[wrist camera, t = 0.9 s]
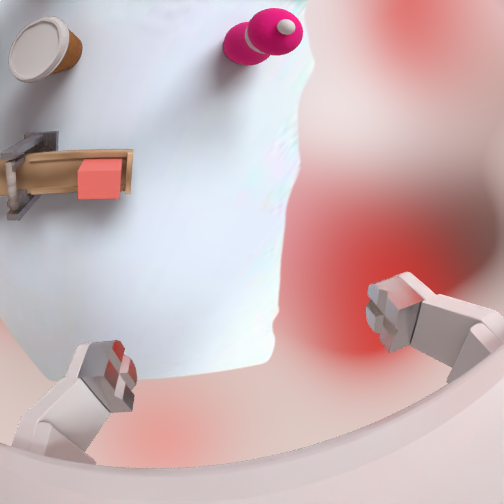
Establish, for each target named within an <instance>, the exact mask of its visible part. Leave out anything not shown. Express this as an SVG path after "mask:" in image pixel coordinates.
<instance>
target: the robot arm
mask: <svg viewBox="0 0 504 504" xmlns="http://www.w3.org/2000/svg"><path fill="white" fill-rule="evenodd" d="M368 296H369V297H370V298H371V300H370V301H369V303H368V304H367V306H366V316H367V321H368V323H369V325H370V327H371V329H372V330H373V331H374V332H376V333H379V334H381V335H380V341H381V342H382V344H383V345H384V346H385V348H386V349H387V351H388V352H389V353H391V352H393V351H396V350H398V349H401V348H403V347H406V346H408V345H411V347H413V348H415V349H417V350H419V351H421V352H423V353H425V354H427V355H429V356H431V357H433V358H434V359H436V360H438V361H440V362H442V363H444V364H446V365H448V366H450V367H452V370H451V372H450V374H449V376H448V378H447V383H448V384H447V385H445V386H444V387H442V388H441V389H439V390H437V391H436V392H434V393H432V394H430V395H429V396H427V397H426V398H424V399H422V400H420V401H418V402H416V403H414V404H412V405H411V406H408V407H406V408H405V409H402V410H400V411H398V412H397V413H394V414H392V415H390V416H388V417H386V418H384V419H381V420H379V421H377V422H375V423H372V424H370V425H368V426H365V427H363V428H360V429H357V430H355V431H352V432H350V433H347V434H345V435H342V436H339V437H336V438H333V439H330V440H327V441H324V442H321V443H317V444H314V445H311V446H308V447H304V448H300V449H297V450H293V451H289V452H285V453H281V454H277V455H272V456H268V457H263V458H257V459H252V460H246V461H241V462H234V463H227V464H219V465H210V466H199V467H186V468H125V467H111V466H101V465H96V462H95V460H94V459H93V458H92V457H90V456H89V455H88V454H86V453H85V451H86V449H87V448H88V446H89V445H90V443H91V442H92V441H93V439H94V437H95V436H96V435H97V433H98V432H99V430H100V429H101V427H102V426H103V424H104V423H105V422H106V420H107V419H108V417H109V416H110V413H114V412H131V411H132V409H133V402H134V394H133V393H132V391H131V390H132V389H133V388H134V386H136V382H137V373H136V368H135V365H134V363H133V361H132V360H131V358H129V357H128V356H126V355H125V354H124V350H125V348H124V347H123V345H122V343H121V342H120V341H118V340H112V341H103V342H92V343H84V344H80V345H78V346H77V349H76V351H75V354H74V356H73V358H72V361H71V363H70V366H69V368H68V371H67V373H66V376H65V378H64V379H60V380H59V381H58V382H57V383H56V384H55V385H54V386H53V387H52V388H51V389H50V390H49V391H48V392H47V393H46V394H44V395H43V396H42V397H41V398H40V399H39V400H38V402H36V403H35V404H34V405H33V406H32V407H31V408H30V409H29V410H28V411H27V412H26V413H25V414H24V415H23V416H22V417H21V419H20V422H19V424H18V427H17V431H16V434H15V437H14V440H13V443H12V446H8V445H6V444H3V443H0V504H504V318H503V317H502V316H501V315H500V314H499V313H498V312H497V311H495V310H492V309H489V308H485V307H482V306H479V305H475V304H472V303H468V302H465V301H462V300H458V299H455V298H452V297H448V296H445V295H441V294H439V295H436V294H435V293H433V292H432V291H431V290H430V289H429V288H428V287H427V286H425V285H424V284H423V283H422V282H421V281H420V280H418V279H417V278H416V277H415V276H414V275H412V274H411V273H410V272H404V273H402V274H399V275H396V276H394V277H391V278H388V279H385V280H382V281H379V282H376V283H372V284H370V286H369V288H368Z"/></svg>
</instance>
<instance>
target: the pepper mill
mask: <svg viewBox="0 0 504 504" xmlns="http://www.w3.org/2000/svg"><path fill="white" fill-rule="evenodd" d="M302 37H303V29H302V25H301V23H300V21H299V20H298V19H297V18H296V17H295V16H294V15H293V14H292V13H290V12H288V11H286V10H283V9H279V8H270V9H265V10H262V11H260V12H258V13H257V14H255V15H254V16H253V18H252V19H251V20H250V21H249V22H244V23H240V24H238V25H236V26H234V27H233V28H231V29H230V30H229V31H228V33H227V34H226V36H225V39H224V43H223V50H224V53H225V55H226V56H227V57H228V58H229V59H230V60H231V61H233V62H235V63H239V64H243V65H255V64H258V63H261V62H263V61H264V60H266V59H267V58H268V57H269V56H270V55H284V54H287V53H289V52H291V51H293V50H294V49H295V48H296V47H297V46H298V45H299V44H300V42H301V40H302Z"/></svg>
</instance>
